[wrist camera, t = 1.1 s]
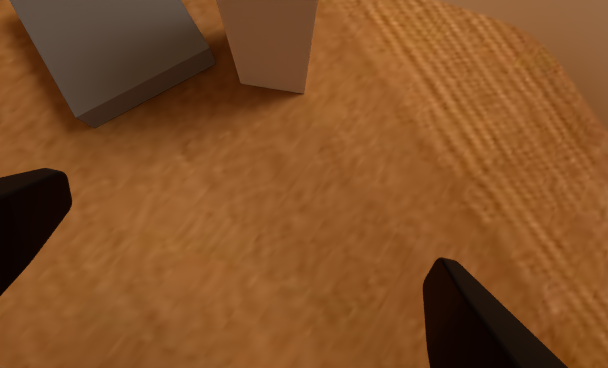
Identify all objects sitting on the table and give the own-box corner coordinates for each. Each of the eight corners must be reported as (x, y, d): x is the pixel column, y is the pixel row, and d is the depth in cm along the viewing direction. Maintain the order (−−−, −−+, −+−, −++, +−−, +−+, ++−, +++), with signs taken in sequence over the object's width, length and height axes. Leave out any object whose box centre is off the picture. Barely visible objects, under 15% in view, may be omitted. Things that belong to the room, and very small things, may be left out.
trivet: (94, 128, 21) (75, 117, 19) (32, 17, 22) (7, -4, 20) (216, 63, 23) (209, 47, 21) (152, -40, 23) (140, -65, 21)
